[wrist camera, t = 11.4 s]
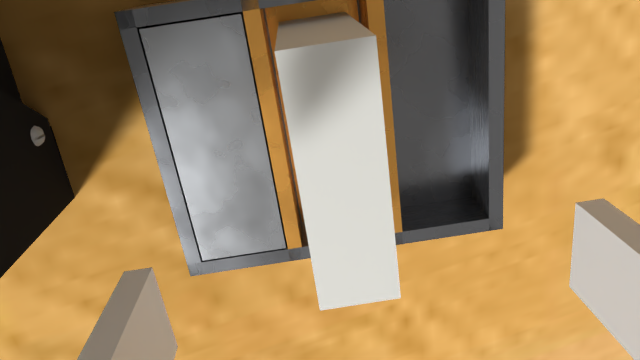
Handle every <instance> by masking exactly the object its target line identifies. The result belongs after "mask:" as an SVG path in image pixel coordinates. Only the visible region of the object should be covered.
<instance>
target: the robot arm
mask: <svg viewBox="0 0 640 360" xmlns="http://www.w3.org/2000/svg"><path fill="white" fill-rule="evenodd" d="M569 287H570V288H571V289H572V290H573V291H574V292H575V293H576V295H577V296H578V297H579V298H580V299H581V300H582V301H583V302H584V304H585V305H586V306H587V307H588V308H589V309H590V310H591V311H592V313H593V314H594V315H595V316H596V317H597V318H598V319H599V320H600V322H601V323H602V324H603V325H604V326H605V327H606V328H607V329H608V331H609V332H610V333H611V334H612V335H613V336H614V337H615V338H616V340H617V341H618V342H619V343H620V344H621V345H622V346H623V347H624V349H625V350H626V351H627V352H628V353H629V354H630V355H631V357H632V358H633V359H634V360H640V225H639V224H638V223H637V222H635V221H634V220H633V219H631V218H630V217H628V216H627V215H626V214H624V213H623V212H622V211H620V210H619V209H617V208H616V207H615V206H613V205H612V204H611V203H609V202H608V201H606V200H605V199H597V200H591V201H584V202H578V203H576V207H575V220H574V233H573V246H572V259H571V272H570V285H569ZM177 347H178V346H177V343H176V339H175V336H174V333H173V330H172V327H171V324H170V321H169V318H168V315H167V312H166V309H165V306H164V302H163V299H162V296H161V293H160V290H159V287H158V284H157V281H156V278H155V275H154V272H153V269H152V267H151V268H145V269H138V270H132V271H125V272H124V273H123V275H122V276H121V278H120V280H119V282H118V284H117V286H116V288H115V290H114V291H113V293H112V295H111V297H110V299H109V301H108V303H107V305H106V306H105V308H104V310H103V312H102V314H101V316H100V318H99V320H98V321H97V323H96V325H95V327H94V329H93V331H92V333H91V335H90V336H89V338H88V340H87V342H86V344H85V346H84V348H83V350H82V351H81V353H80V355H79V357H78V359H77V360H174V358H175V354H176V351H177Z"/></svg>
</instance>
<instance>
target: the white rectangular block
mask: <svg viewBox="0 0 640 360" xmlns="http://www.w3.org/2000/svg"><path fill="white" fill-rule="evenodd" d="M275 57H276V63H277V68H278V74H279V80H280V85H281V91H282V97H283V102H284V108H285V114H286V119H287V125H288V131H289V136H290V142H291V148H292V154H293V159H294V165H295V171H296V176H297V182H298V188H299V193H300V199H301V205H302V210H303V216H304V222H305V227H306V233H307V239H308V245H309V250H310V256H311V262H312V267H313V273H314V279H315V284H316V290H317V296H318V301H319V307H320V311H321V310H327V309H333V308H340V307H346V306H353V305H359V304H365V303H372V302H378V301H385V300H391V299H397V298H401V295H400V284H399V273H398V263H397V252H396V241H395V231H394V220H393V210H392V199H391V188H390V178H389V167H388V156H387V146H386V135H385V125H384V114H383V103H382V93H381V82H380V71H379V61H378V50H377V40H376V35H375V34H374V33H372V32H371V31H370V30H368V29H367V28H366V27H364V26H363V25H362V24H360V23H359V22H358V21H356V20H355V19H354V18H352V17H351V16H350V15H348V14H347V13H346V12H340V13H333V14H327V15H320V16H314V17H307V18H301V19H295V20H288V21H282V22H279V24H278V31H277V38H276V45H275Z"/></svg>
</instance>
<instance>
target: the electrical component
mask: <svg viewBox="0 0 640 360" xmlns="http://www.w3.org/2000/svg"><path fill="white" fill-rule="evenodd" d="M74 198H75V197H74V194H73V191H72V188H71V185H70V182H69V179H68V176H67V173H66V170H65V167H64V164H63V161H62V158H61V155H60V152H59V149H58V146H57V143H56V140H55V137H54V134H53V131H52V128H51V126H50V125H49V122H48V119H47V118H45V117H44V116H42V115H41V114H39V113H37V112H36V111H34V110H33V109H31V108H29V107H28V106H26V105H24V104H23V103H22V101H21V98H20V95H19V92H18V89H17V86H16V83H15V80H14V77H13V74H12V71H11V68H10V65H9V62H8V59H7V56H6V53H5V50H4V47H3V44H2V41H1V38H0V278H1V277H2V276H3V275H4V273H5V272H6V271H7V270H8V269H9V268H10V267H11V266H12V265H13V264H14V263H15V262H16V260H17V259H18V258H19V257H20V256H21V255H22V254H23V253H24V252H25V251H26V250H27V249H28V248H29V246H30V245H31V244H32V243H33V242H34V241H35V240H36V239H37V238H38V237H39V236H40V235H41V233H42V232H43V231H44V230H45V229H46V228H47V227H48V226H49V225H50V224H51V223H52V222H53V220H54V219H55V218H56V217H57V216H58V215H59V214H60V213H61V212H62V211H63V210H64V209H65V207H66V206H67V205H68V204H69V203H70V202H71V201H72V200H73V199H74Z"/></svg>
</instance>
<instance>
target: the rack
mask: <svg viewBox="0 0 640 360" xmlns="http://www.w3.org/2000/svg"><path fill="white" fill-rule="evenodd" d="M340 12H346V13H347V14H348V15H350V16H351V17H352V18H354V19H355V20H356V21H358V22H359V23H360V24H362V25H363V26H364V27H366V28H367V29H368V30H370V31H371V32H372V33H374V34H375V35H376V40H377V50H378V61H379V71H380V82H381V93H382V103H383V114H384V125H385V135H386V146H387V156H388V167H389V178H390V188H391V199H392V210H393V220H394V231H395V241H396V245H399V244H405V243H412V242H419V241H425V240H432V239H438V238H445V237H451V236H458V235H465V234H471V233H478V232H484V231H491V230H497V229H503V161H504V67H505V0H175V1H168V2H161V3H155V4H148V5H142V6H136V7H132V8H128V9H125V10H121V11H117V12H114V13H115V17H116V20H117V24H118V27H119V30H120V34H121V37H122V41H123V44H124V48H125V51H126V55H127V58H128V62H129V65H130V68H131V72H132V75H133V79H134V82H135V86H136V89H137V93H138V96H139V100H140V103H141V106H142V110H143V113H144V117H145V120H146V124H147V127H148V131H149V134H150V138H151V141H152V144H153V148H154V151H155V155H156V158H157V162H158V165H159V169H160V172H161V176H162V179H163V182H164V186H165V189H166V193H167V196H168V200H169V203H170V207H171V210H172V213H173V217H174V220H175V224H176V227H177V231H178V234H179V238H180V241H181V245H182V248H183V251H184V255H185V258H186V262H187V265H188V269H189V272H190V276H195V275H202V274H209V273H215V272H222V271H228V270H235V269H241V268H248V267H255V266H261V265H268V264H274V263H281V262H287V261H294V260H300V259H307V258H311V256H310V250H309V245H308V239H307V233H306V227H305V222H304V216H303V210H302V205H301V199H300V193H299V188H298V182H297V176H296V171H295V165H294V159H293V154H292V148H291V142H290V136H289V131H288V125H287V119H286V114H285V108H284V102H283V97H282V91H281V85H280V80H279V74H278V68H277V63H276V57H275V45H276V38H277V31H278V24H279V22H282V21H288V20H295V19H301V18H307V17H314V16H320V15H327V14H333V13H340Z"/></svg>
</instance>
